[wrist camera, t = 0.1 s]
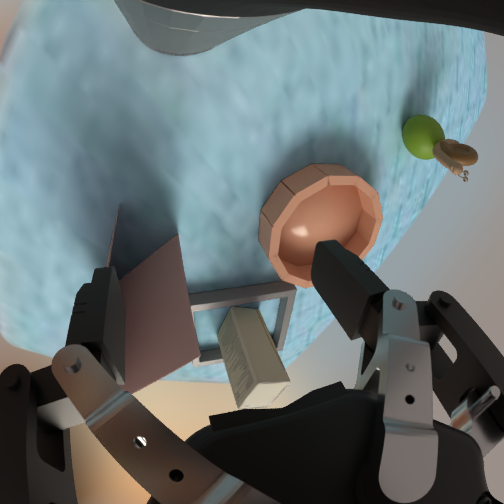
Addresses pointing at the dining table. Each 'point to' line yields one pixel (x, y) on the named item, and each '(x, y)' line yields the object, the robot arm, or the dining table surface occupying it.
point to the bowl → (317, 218)
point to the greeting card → (157, 317)
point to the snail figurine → (436, 145)
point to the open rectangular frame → (243, 297)
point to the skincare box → (251, 359)
